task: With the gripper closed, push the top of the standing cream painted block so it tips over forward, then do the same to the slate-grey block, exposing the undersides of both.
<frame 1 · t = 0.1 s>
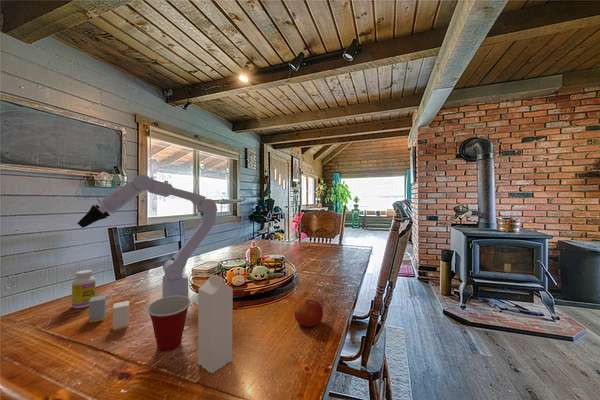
hand: (82, 224, 83), 32 cm above the table, tool tilted 50°, fingers open, 7 cm apart
grey block: (97, 318, 82), on the table
tomato: (308, 324, 80), on the table
milk: (215, 363, 61), on the table
plastic cup: (169, 346, 68), on the table
cream block: (121, 326, 78), on the table
supplement bottle: (83, 305, 92), on the table
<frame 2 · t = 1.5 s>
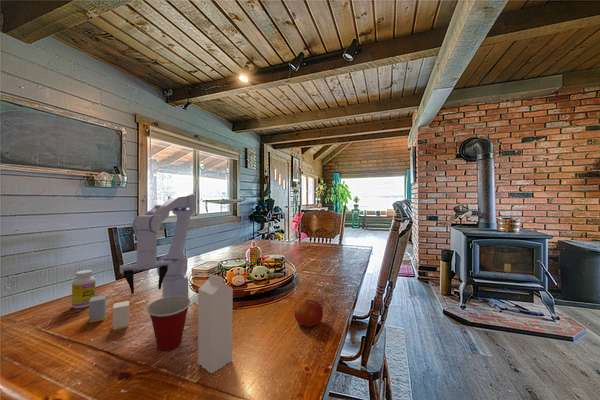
hand: (146, 290, 81), 10 cm above the table, tool pointing down, fingers open, 7 cm apart
nothing on the table moved.
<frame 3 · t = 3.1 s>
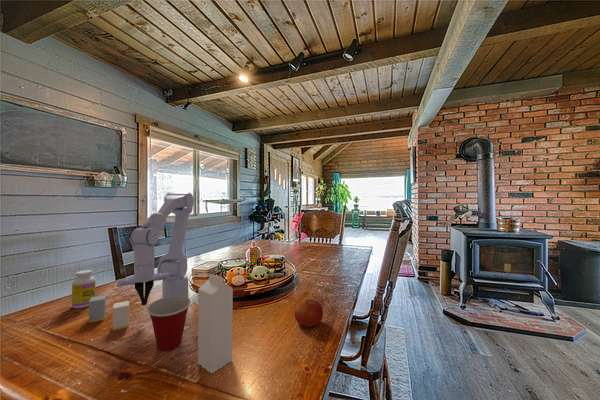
hand: (144, 304, 81), 6 cm above the table, tool pointing down, fingers closed
nothing on the table moved.
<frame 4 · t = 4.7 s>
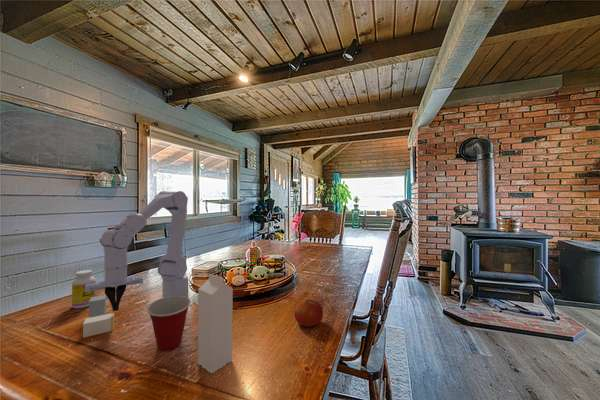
hand: (115, 309, 77), 6 cm above the table, tool pointing down, fingers closed
cream block: (113, 321, 77), point 2 cm above the table, tilted 90°
everything else where it was.
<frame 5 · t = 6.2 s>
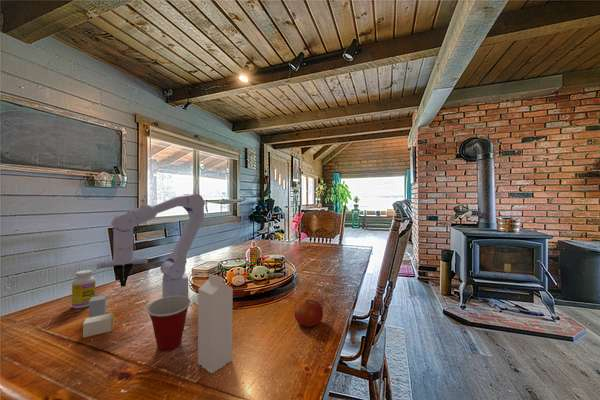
hand: (123, 285, 86), 10 cm above the table, tool pointing down, fingers closed
nothing on the table moved.
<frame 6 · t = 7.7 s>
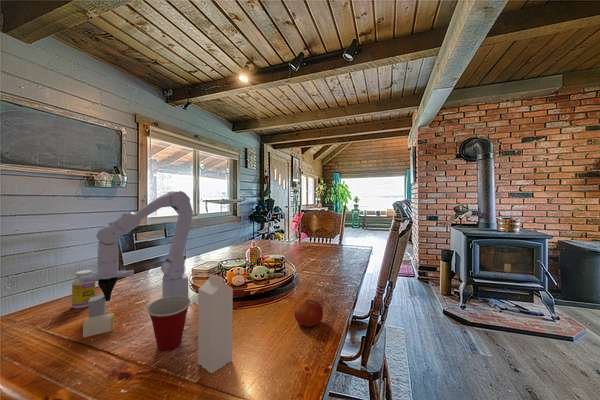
hand: (107, 300, 84), 6 cm above the table, tool pointing down, fingers closed
grey block: (97, 318, 82), on the table, touching gripper
everything else where it was.
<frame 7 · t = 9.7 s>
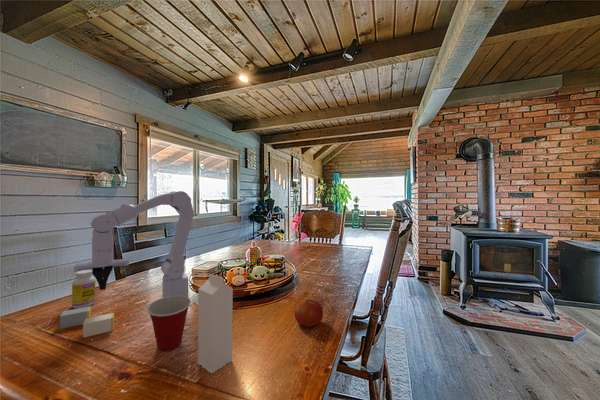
hand: (102, 289, 83), 10 cm above the table, tool pointing down, fingers closed
grey block: (90, 314, 81), point 2 cm above the table, tilted 90°
everything else where it was.
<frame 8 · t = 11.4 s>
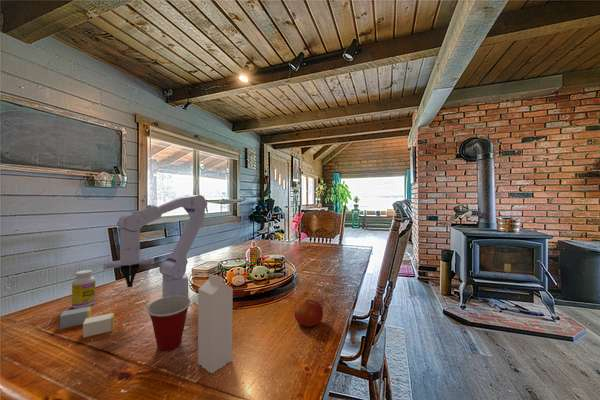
hand: (130, 286, 85), 10 cm above the table, tool pointing down, fingers closed
nothing on the table moved.
at the end: cream block tilted 90°; grey block tilted 90°; grey block inside the target area (3.5 cm from its centre), point 1.9 cm above the table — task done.
